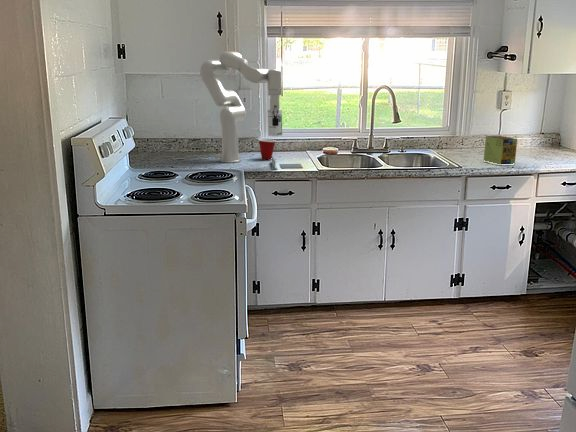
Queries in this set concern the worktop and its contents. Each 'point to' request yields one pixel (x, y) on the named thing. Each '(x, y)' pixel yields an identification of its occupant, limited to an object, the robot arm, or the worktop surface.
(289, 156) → the worktop surface
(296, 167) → the slate mat
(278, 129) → the syrup box
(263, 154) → the plastic cup
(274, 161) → the acrylic divider
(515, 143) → the protein box
